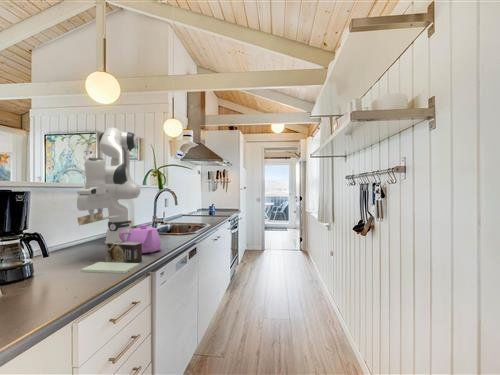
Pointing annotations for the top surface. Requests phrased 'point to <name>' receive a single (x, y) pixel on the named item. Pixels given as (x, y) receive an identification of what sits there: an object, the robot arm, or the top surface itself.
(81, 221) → the turner
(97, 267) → the board
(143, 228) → the teapot
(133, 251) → the coffee box
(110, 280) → the top surface
